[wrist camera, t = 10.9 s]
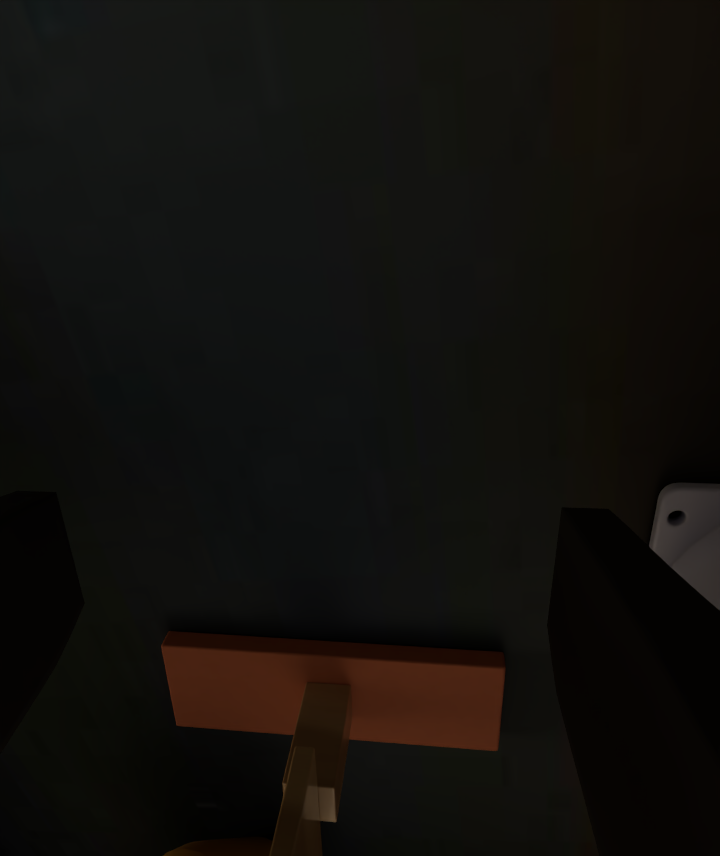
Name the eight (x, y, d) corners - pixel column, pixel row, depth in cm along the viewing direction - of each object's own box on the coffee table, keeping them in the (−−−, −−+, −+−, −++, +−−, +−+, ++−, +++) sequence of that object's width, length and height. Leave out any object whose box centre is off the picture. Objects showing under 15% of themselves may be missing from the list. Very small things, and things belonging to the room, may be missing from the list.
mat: (496, 733, 25) (498, 752, 24) (183, 709, 26) (175, 726, 26) (503, 650, 23) (506, 668, 23) (168, 629, 25) (159, 645, 24)
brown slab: (353, 750, 25) (317, 1008, 18) (311, 747, 25) (258, 1001, 18) (349, 647, 23) (306, 892, 16) (303, 644, 23) (240, 885, 16)
